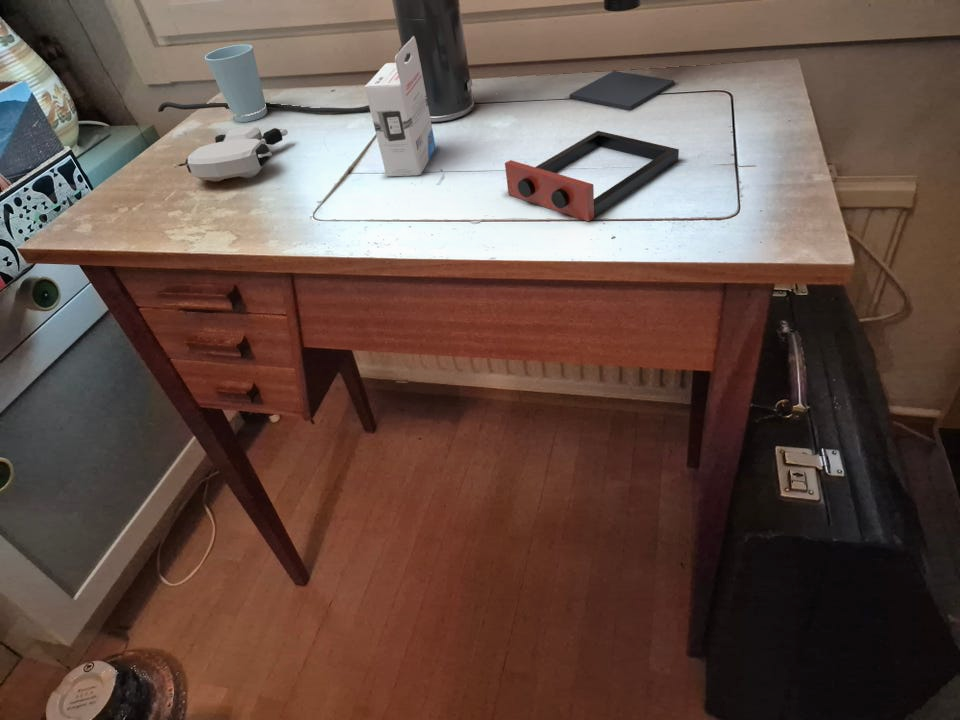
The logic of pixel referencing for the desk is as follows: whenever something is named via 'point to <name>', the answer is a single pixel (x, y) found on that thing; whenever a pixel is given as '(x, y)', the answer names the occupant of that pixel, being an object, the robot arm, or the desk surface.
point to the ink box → (401, 114)
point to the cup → (238, 80)
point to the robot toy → (233, 154)
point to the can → (621, 5)
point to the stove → (577, 194)
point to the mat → (622, 90)
